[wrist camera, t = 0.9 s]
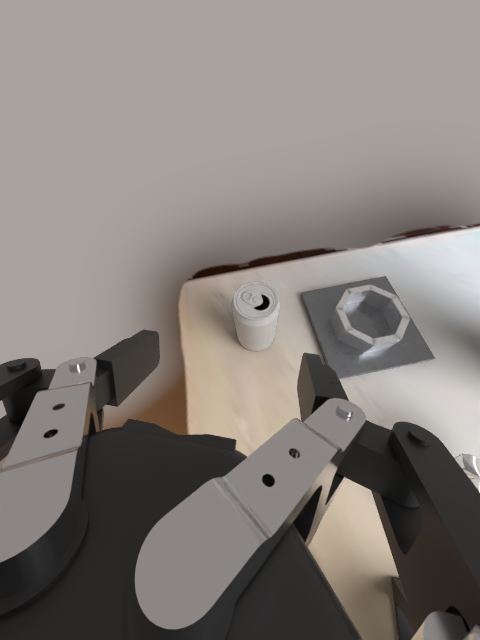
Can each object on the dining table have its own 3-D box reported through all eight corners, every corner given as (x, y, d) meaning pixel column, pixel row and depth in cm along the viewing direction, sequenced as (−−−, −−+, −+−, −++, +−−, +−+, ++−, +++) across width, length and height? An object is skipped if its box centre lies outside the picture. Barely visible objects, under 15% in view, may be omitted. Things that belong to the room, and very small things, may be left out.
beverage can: (264, 359, 37) (267, 330, 26) (230, 342, 39) (221, 308, 28) (280, 328, 39) (289, 290, 29) (248, 313, 41) (245, 272, 30)
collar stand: (382, 279, 42) (396, 263, 38) (430, 360, 35) (453, 351, 31) (300, 295, 42) (305, 281, 38) (332, 380, 35) (342, 374, 31)
